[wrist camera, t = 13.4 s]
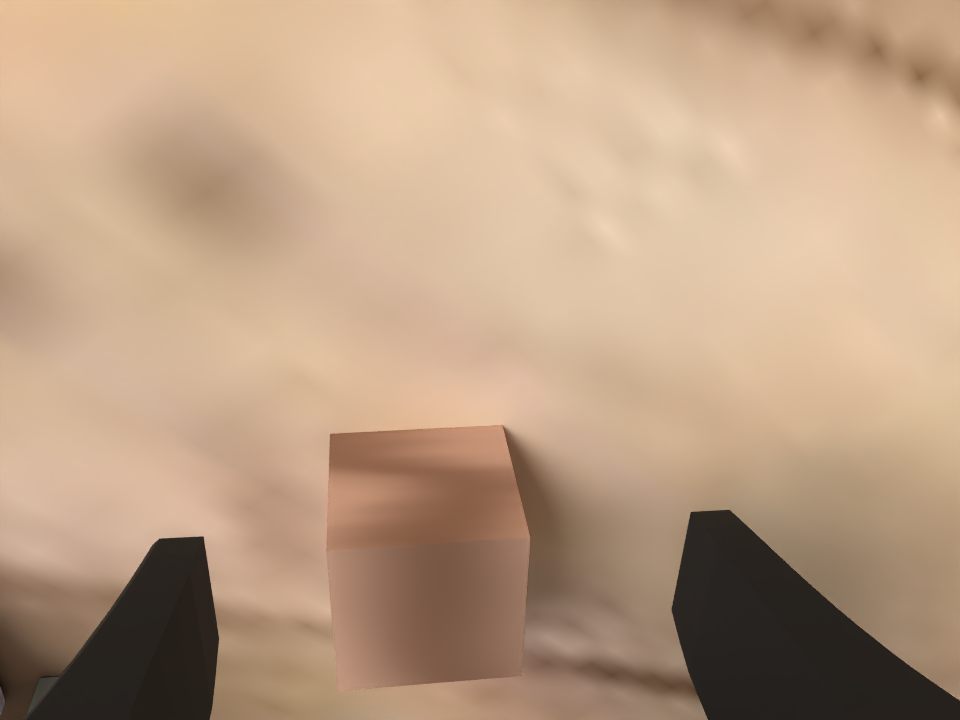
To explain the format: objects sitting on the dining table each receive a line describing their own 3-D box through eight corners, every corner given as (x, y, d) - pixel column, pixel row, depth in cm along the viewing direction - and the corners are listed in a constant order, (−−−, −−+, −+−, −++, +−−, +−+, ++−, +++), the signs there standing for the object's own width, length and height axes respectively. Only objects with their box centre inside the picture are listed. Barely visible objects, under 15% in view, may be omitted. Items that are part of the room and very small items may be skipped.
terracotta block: (339, 562, 26) (338, 691, 22) (329, 432, 24) (326, 550, 20) (496, 551, 27) (521, 675, 23) (501, 423, 24) (530, 537, 21)
